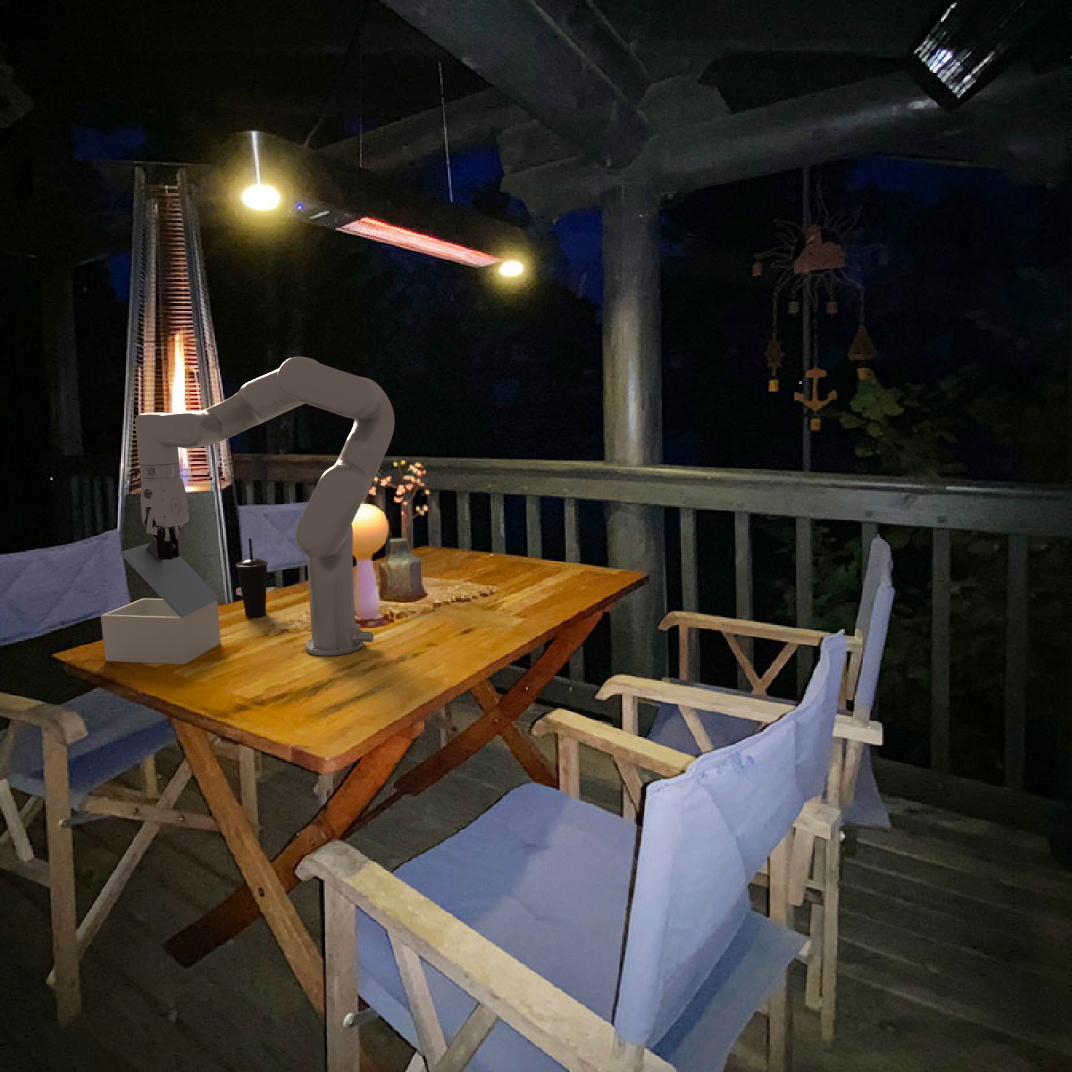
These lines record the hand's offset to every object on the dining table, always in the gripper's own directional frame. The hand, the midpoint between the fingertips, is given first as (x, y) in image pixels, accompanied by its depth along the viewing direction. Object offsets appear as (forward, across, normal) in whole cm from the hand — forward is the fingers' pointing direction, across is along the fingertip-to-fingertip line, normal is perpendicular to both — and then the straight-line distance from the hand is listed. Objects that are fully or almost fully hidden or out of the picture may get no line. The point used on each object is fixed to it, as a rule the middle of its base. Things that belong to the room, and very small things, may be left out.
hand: (168, 557), depth 160 cm
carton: (+21, 0, +3) cm, 21 cm away
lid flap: (+4, 0, 0) cm, 4 cm away
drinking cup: (+21, +29, -3) cm, 36 cm away
